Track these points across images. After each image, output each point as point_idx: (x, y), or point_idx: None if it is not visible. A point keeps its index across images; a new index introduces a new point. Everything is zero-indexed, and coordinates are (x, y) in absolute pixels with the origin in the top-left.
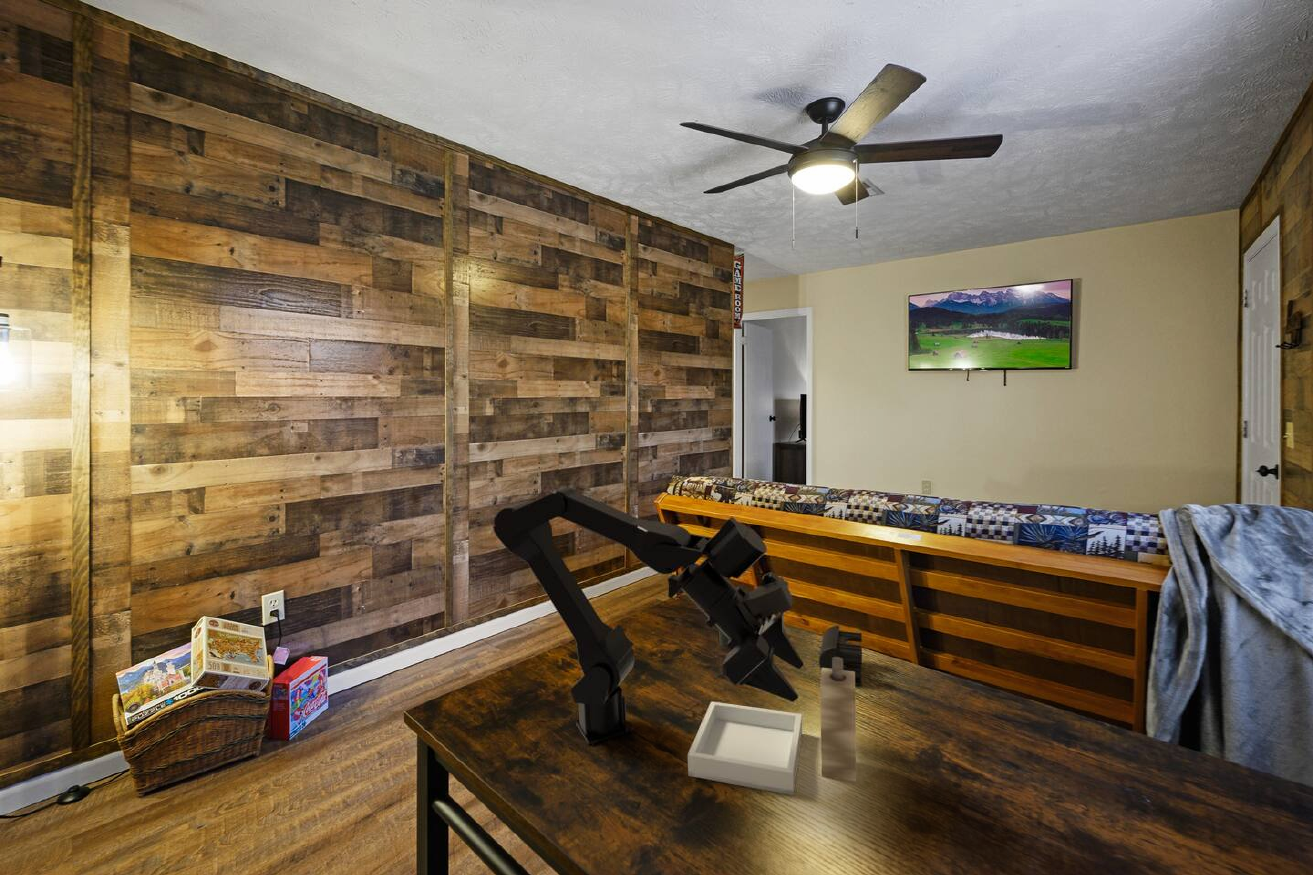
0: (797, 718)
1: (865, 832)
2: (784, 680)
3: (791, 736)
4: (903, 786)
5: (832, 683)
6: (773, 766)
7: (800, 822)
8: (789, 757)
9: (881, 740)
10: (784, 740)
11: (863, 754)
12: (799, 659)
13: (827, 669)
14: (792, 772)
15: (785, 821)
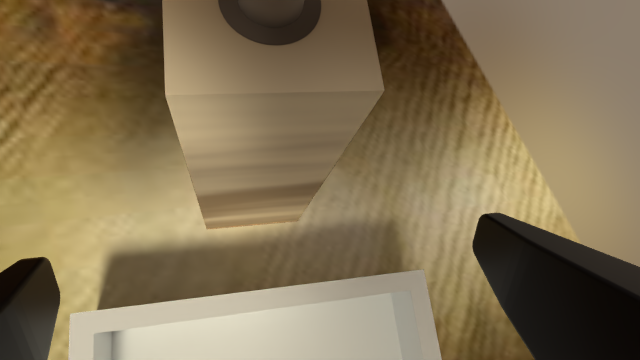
0: (108, 323)
1: (434, 118)
2: (635, 270)
3: (147, 340)
4: None
5: (360, 27)
6: (421, 332)
7: (471, 242)
8: (359, 295)
9: (73, 83)
10: (182, 357)
11: (161, 127)
12: (29, 284)
13: (183, 58)
14: (420, 271)
15: (484, 274)
